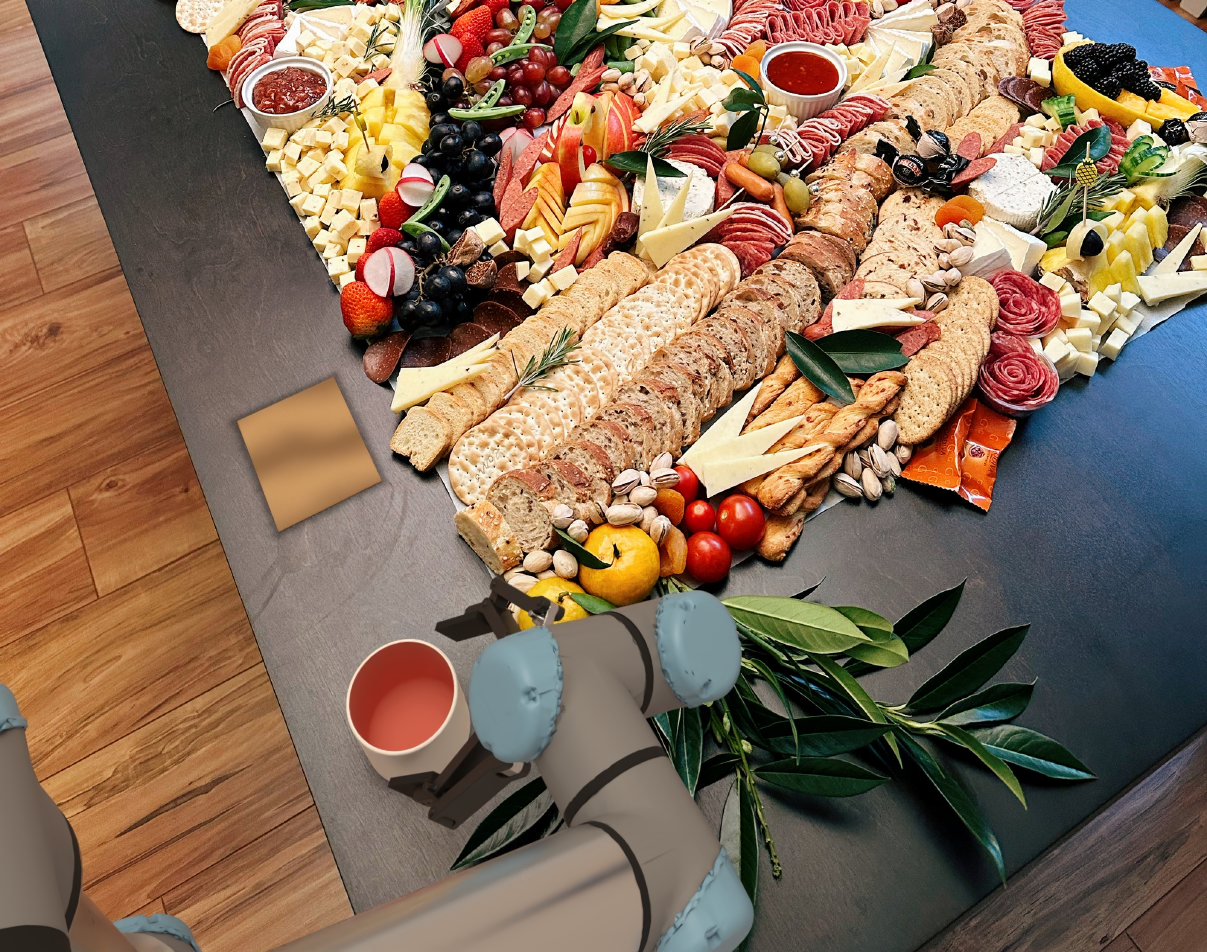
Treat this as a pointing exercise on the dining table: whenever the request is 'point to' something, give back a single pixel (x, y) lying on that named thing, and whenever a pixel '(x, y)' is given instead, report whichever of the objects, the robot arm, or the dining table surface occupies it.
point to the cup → (408, 709)
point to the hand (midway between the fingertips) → (424, 706)
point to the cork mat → (307, 453)
